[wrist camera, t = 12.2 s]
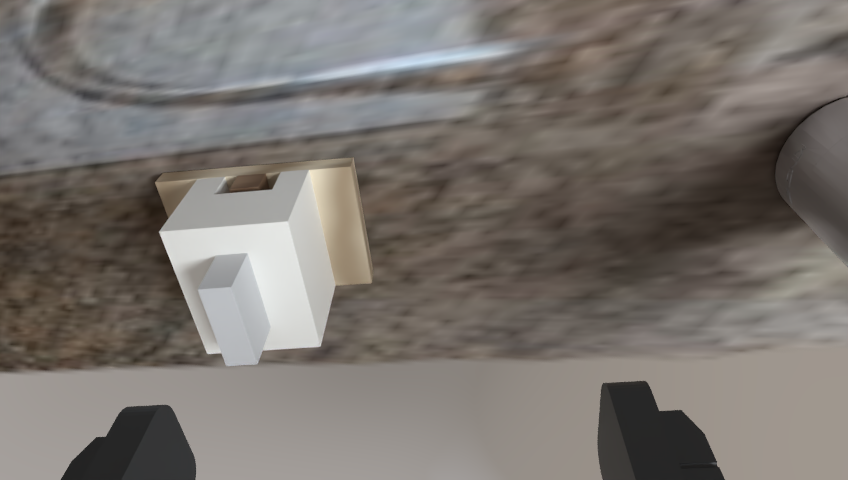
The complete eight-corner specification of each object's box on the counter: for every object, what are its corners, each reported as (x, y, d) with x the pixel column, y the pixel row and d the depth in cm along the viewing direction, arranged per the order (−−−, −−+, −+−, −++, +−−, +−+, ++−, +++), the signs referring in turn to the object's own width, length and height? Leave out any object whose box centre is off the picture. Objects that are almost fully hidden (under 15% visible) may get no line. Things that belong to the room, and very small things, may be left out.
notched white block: (309, 169, 43) (274, 254, 34) (335, 285, 48) (311, 384, 39) (197, 179, 43) (134, 264, 35) (235, 292, 49) (189, 391, 40)
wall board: (353, 157, 44) (346, 179, 41) (373, 271, 49) (369, 299, 46) (163, 172, 45) (143, 196, 42) (202, 283, 50) (188, 310, 47)
